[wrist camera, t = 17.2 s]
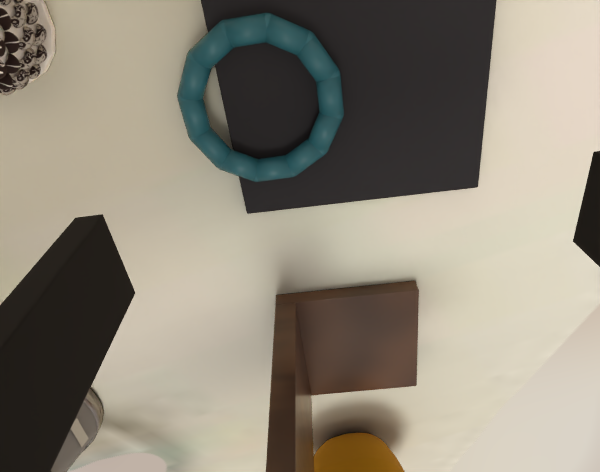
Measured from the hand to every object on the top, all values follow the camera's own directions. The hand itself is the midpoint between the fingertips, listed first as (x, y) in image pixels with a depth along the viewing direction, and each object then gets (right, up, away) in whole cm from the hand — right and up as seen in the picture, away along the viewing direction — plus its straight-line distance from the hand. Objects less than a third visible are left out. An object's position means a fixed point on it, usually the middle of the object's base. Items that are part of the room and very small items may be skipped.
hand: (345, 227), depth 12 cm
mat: (+3, +11, +22) cm, 24 cm away
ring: (-4, +9, +20) cm, 23 cm away
